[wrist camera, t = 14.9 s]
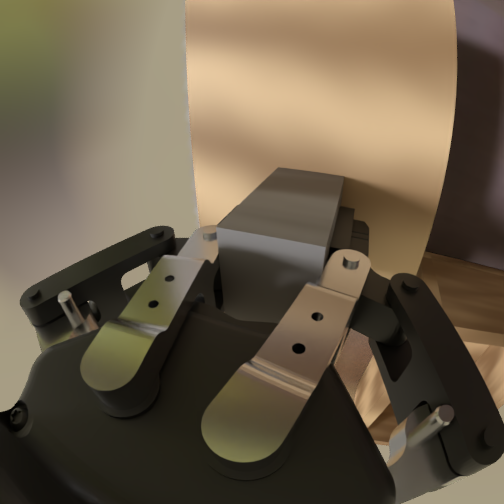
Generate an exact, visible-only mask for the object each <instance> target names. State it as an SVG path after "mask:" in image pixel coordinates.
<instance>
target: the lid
mask: <svg viewBox="0 0 504 504" xmlns="http://www.w3.org/2000/svg"><path fill="white" fill-rule="evenodd" d="M185 15H186V60H187V83H188V101H189V117H190V131H191V143H192V155H193V166H194V177H195V187H196V196H197V205H198V214H199V223H200V227H203V226H207V225H217V224H218V223H219V222H220V221H221V220H222V219H223V218H224V217H225V216H227V214H229V213H230V212H231V211H232V210H233V209H234V208H235V207H236V206H237V205H238V206H237V207H236V208H235V209H234V210H233V211H232V212H231V213H230V214H229V215H228V216H227V217H226V218H225V219H224V220H223V221H222V222H221V223H220V224H219V225H218V226H217V227H216V232H217V243H218V253H219V263H220V273H221V282H222V291H223V300H224V309H225V313H226V314H227V315H229V316H231V317H233V318H235V319H237V320H242V321H256V322H273V323H278V324H279V322H280V321H281V319H282V318H283V317H284V315H285V314H286V312H287V311H288V310H289V308H290V307H291V305H292V304H293V302H294V301H295V299H296V298H297V297H298V295H299V294H300V292H301V291H302V289H303V288H304V286H305V285H306V284H307V283H308V282H313V283H315V282H316V280H317V279H318V277H319V276H320V275H322V272H323V269H324V267H325V266H326V264H327V261H328V255H329V248H330V244H331V240H332V236H333V232H334V228H335V224H336V220H337V216H338V212H339V208H340V206H343V207H349V208H354V209H355V211H354V220H359V221H365V223H366V224H367V225H368V227H369V255H368V258H369V260H370V262H371V268H372V269H373V270H374V271H375V272H376V273H377V274H379V275H381V276H383V277H385V278H387V279H389V280H391V278H392V276H393V275H395V274H397V273H409V274H413V275H415V276H416V274H417V271H418V268H419V266H420V263H421V260H422V257H423V254H424V251H425V248H426V245H427V242H428V239H429V236H430V232H431V229H432V225H433V222H434V218H435V215H436V211H437V207H438V203H439V199H440V195H441V191H442V187H443V182H444V177H445V173H446V168H447V162H448V157H449V151H450V145H451V138H452V130H453V122H454V113H455V102H456V86H457V36H456V21H455V11H454V2H453V0H185Z"/></svg>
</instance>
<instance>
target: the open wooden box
mask: <svg viewBox="0 0 504 504" xmlns="http://www.w3.org/2000/svg"><path fill="white" fill-rule="evenodd" d="M416 276H417V277H419V278H420V279H422V280H423V281H424V282H425V283H426V285H427V286H428V287H429V289H430V290H431V292H432V293H433V295H434V296H435V298H436V299H437V301H438V302H439V304H440V305H441V307H442V308H443V310H444V311H445V313H446V314H447V316H448V318H449V319H450V321H451V322H452V324H453V326H454V327H455V329H456V330H457V332H458V334H459V335H460V337H461V339H462V340H463V342H464V344H465V346H466V347H467V349H468V351H469V353H470V355H471V356H472V358H473V360H474V362H475V364H476V366H477V367H478V369H479V371H480V373H481V375H482V377H483V379H484V381H485V383H486V385H487V387H488V389H489V391H490V394H491V396H492V398H493V400H494V402H495V404H496V407H497V409H499V408H500V407H501V406H502V405H503V404H504V271H503V270H499V269H495V268H491V267H487V266H483V265H480V264H476V263H472V262H468V261H464V260H460V259H455V258H451V257H447V256H443V255H439V254H434V253H430V252H426V251H424V254H423V257H422V260H421V263H420V266H419V268H418V271H417V274H416ZM354 404H355V406H356V407H357V409H358V411H359V413H360V415H361V417H362V419H363V421H364V423H365V424H366V426H367V428H368V430H369V432H370V434H371V436H372V438H373V440H374V442H375V443H376V444H380V445H388V446H389V440H390V436H391V434H392V432H393V430H394V429H395V428H396V427H397V426H398V424H397V421H396V417H395V414H394V411H393V408H392V405H391V402H390V399H389V396H388V394H387V391H386V388H385V385H384V382H383V379H382V377H381V374H380V371H379V368H378V366H377V363H376V360H375V358H374V355H373V357H372V359H371V361H370V363H369V364H368V366H367V368H366V370H365V372H364V374H363V375H362V377H361V379H360V381H359V383H358V384H357V390H356V395H355V400H354Z"/></svg>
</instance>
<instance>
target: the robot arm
mask: <svg viewBox="0 0 504 504" xmlns="http://www.w3.org/2000/svg"><path fill="white" fill-rule="evenodd" d="M237 206H238V205H237ZM237 206H236V207H237ZM236 207H235V208H236ZM235 208H234V209H235ZM234 209H233V210H234ZM233 210H232V211H233ZM232 211H231V212H232ZM354 211H355V209H354V208H349V207H343V206H340V208H339V212H338V216H337V220H336V224H335V228H334V232H333V236H332V240H331V244H330V248H329V255H328V261H327V264H326V266H325V267H324V269H323V272H322V275H320V276H319V277H318V279H317V280H316V282H315V283H313V282H308V283H307V284H306V285H305V286H304V288H303V289H302V291H301V292H300V294H299V295H298V297H297V298H296V299H295V301H294V302H293V304H292V305H291V307H290V308H289V310H288V311H287V312H286V314H285V315H284V317H283V318H282V319H281V321H280V322H279V324H278V323H273V322H256V321H242V320H237V319H235V318H233V317H231V316H229V315H227V314H226V313H224V312H225V309H224V300H223V291H222V282H221V273H220V263H219V253H218V243H217V232H216V227H217V226H218V225H219V224H220V223H221V222H222V221H223V220H224V219H225V218H226V217H227V216H228V215H229V214H230V213H231V212H230V213H229V214H227V216H225V217H224V218H223V219H222V220H221V221H220V222H219V223H218V224H217V225H207V226H203V227H200V228H198V229H197V230H195V231H194V232H193V234H192V235H191V237H190V238H175V234H174V230H173V228H171V227H168V226H157V227H153V228H150V229H147V230H145V231H143V232H141V233H138V234H136V235H134V236H132V237H129V238H127V239H125V240H123V241H121V242H119V243H117V244H114V245H112V246H110V247H108V248H106V249H104V250H102V251H99V252H97V253H96V254H93V255H91V256H89V257H87V258H85V259H83V260H81V261H79V262H77V263H75V264H73V265H71V266H69V267H67V268H65V269H63V270H61V271H59V272H58V273H55V274H54V275H52V276H50V277H48V278H46V279H44V280H42V281H40V282H39V283H37V284H35V285H33V286H31V287H30V288H28V289H27V290H26V291H25V292H24V293H23V295H22V297H21V299H20V305H21V307H22V309H23V310H24V312H25V314H26V315H27V317H28V318H29V320H30V323H31V325H32V326H33V328H34V329H35V331H36V333H37V337H38V341H39V345H40V348H41V352H42V353H41V354H40V356H39V357H38V358H37V359H36V361H35V362H34V364H33V366H32V368H31V371H30V374H29V377H28V381H27V383H26V386H25V388H24V390H23V392H22V394H21V396H20V398H19V400H18V401H17V403H16V404H15V406H14V407H12V408H11V409H9V410H7V411H4V412H0V504H401V503H404V502H406V501H409V500H411V499H414V498H416V497H418V496H421V495H423V494H425V493H427V492H432V491H436V490H438V489H441V488H443V487H446V486H448V485H450V484H453V483H455V482H457V481H459V480H462V479H464V478H466V477H468V476H470V475H472V474H474V473H476V472H478V471H480V470H482V469H484V468H486V467H487V466H489V465H491V464H493V463H494V462H496V461H497V460H498V459H499V458H500V457H501V456H502V454H503V453H504V423H503V421H502V418H501V416H500V414H499V411H498V409H497V407H496V404H495V402H494V400H493V398H492V396H491V394H490V391H489V389H488V387H487V385H486V383H485V381H484V379H483V377H482V375H481V373H480V371H479V369H478V367H477V366H476V364H475V362H474V360H473V358H472V356H471V355H470V353H469V351H468V349H467V347H466V346H465V344H464V342H463V340H462V339H461V337H460V335H459V334H458V332H457V330H456V329H455V327H454V326H453V324H452V322H451V321H450V319H449V318H448V316H447V314H446V313H445V311H444V310H443V308H442V307H441V305H440V304H439V302H438V301H437V299H436V298H435V296H434V295H433V293H432V292H431V290H430V289H429V287H428V286H427V285H426V283H425V282H424V281H423V280H422V279H420V278H419V277H417V276H415V275H413V274H409V273H397V274H395V275H393V276H392V278H391V280H389V279H387V278H385V277H383V276H381V275H379V274H377V273H376V272H375V271H374V270H373V269H372V268H371V262H370V260H369V258H368V255H369V227H368V225H367V224H366V223H365V221H359V220H354ZM146 262H147V264H148V268H149V272H150V274H149V275H148V277H147V278H146V279H145V280H143V281H141V282H140V283H138V284H136V285H134V286H132V287H130V288H128V289H126V290H123V288H122V285H121V278H122V276H123V275H124V274H125V273H127V272H128V271H130V270H132V269H134V268H136V267H138V266H140V265H142V264H144V263H146ZM87 301H89V303H88V302H87ZM351 329H353V330H355V331H357V332H359V333H361V334H363V335H365V336H367V337H369V345H370V347H371V350H372V353H373V355H374V358H375V360H376V363H377V366H378V368H379V371H380V374H381V377H382V379H383V382H384V385H385V388H386V391H387V394H388V396H389V399H390V402H391V405H392V408H393V411H394V414H395V417H396V421H397V424H398V426H397V427H396V428H395V429H394V430H393V432H392V434H391V436H390V440H389V449H390V456H389V460H388V462H387V464H386V463H385V461H384V459H383V457H382V455H381V453H380V451H379V449H378V447H377V445H376V443H375V442H374V440H373V438H372V436H371V434H370V432H369V430H368V428H367V426H366V424H365V423H364V421H363V419H362V417H361V415H360V413H359V411H358V409H357V407H356V406H355V404H354V402H353V400H352V398H351V396H350V394H349V393H348V391H347V389H346V387H345V385H344V383H343V381H342V380H341V378H340V376H339V374H338V372H337V370H336V369H335V365H336V363H337V360H338V358H339V356H340V354H341V351H342V349H343V347H344V345H345V342H346V340H347V338H348V335H349V333H350V331H351Z"/></svg>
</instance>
